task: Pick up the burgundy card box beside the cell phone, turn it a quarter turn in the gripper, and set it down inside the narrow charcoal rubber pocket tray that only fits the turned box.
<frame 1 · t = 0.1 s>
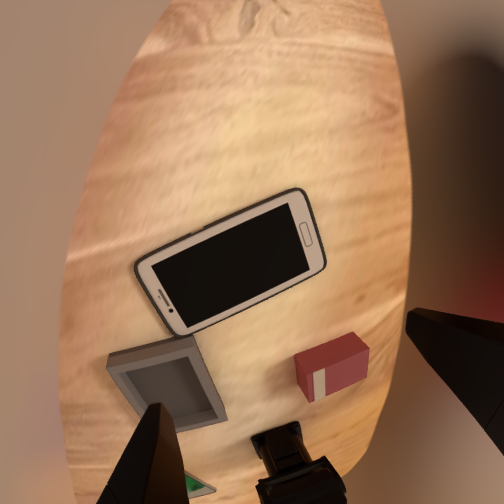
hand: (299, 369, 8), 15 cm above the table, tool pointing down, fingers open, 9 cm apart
card box: (324, 357, 29), on the table
pocket tray: (170, 384, 25), on the table
smartphone: (173, 478, 31), on the table
cell phone: (233, 262, 23), on the table
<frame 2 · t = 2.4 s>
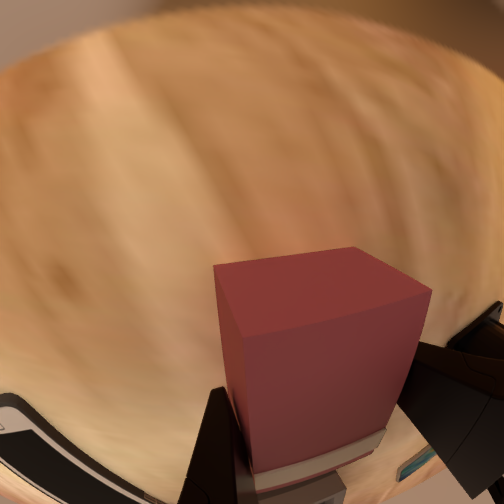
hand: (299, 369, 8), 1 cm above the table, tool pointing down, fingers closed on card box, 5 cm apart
card box: (288, 350, 9), on the table, touching gripper
smartphone: (444, 433, 22), on the table
cell phone: (74, 475, 10), on the table
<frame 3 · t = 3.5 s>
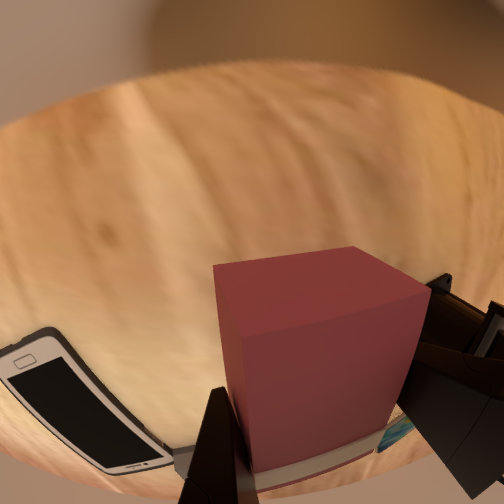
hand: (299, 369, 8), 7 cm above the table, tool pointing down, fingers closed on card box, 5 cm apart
card box: (288, 350, 9), point 6 cm above the table, touching gripper
pocket tray: (248, 456, 20), on the table
smartphone: (420, 406, 27), on the table
cell phone: (86, 414, 15), on the table
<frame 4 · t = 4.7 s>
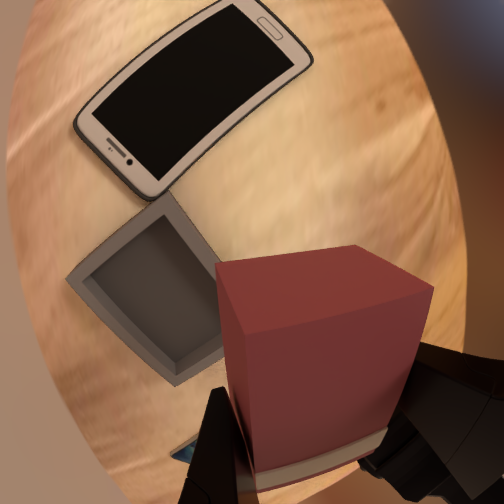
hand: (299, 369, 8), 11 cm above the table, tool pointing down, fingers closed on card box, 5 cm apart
card box: (289, 349, 9), point 10 cm above the table, touching gripper
pocket tray: (168, 292, 18), on the table
smartphone: (238, 454, 27), on the table
cell phone: (195, 83, 15), on the table
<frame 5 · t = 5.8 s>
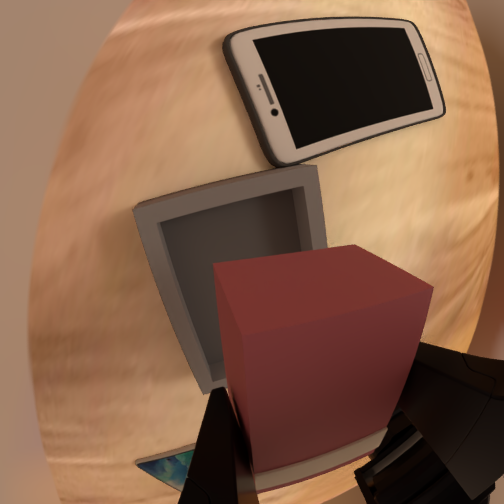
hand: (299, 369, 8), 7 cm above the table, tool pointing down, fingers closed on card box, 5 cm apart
card box: (288, 349, 9), point 6 cm above the table, touching gripper
pocket tray: (243, 279, 15), on the table
smartphone: (206, 476, 22), on the table
cell phone: (353, 76, 14), on the table
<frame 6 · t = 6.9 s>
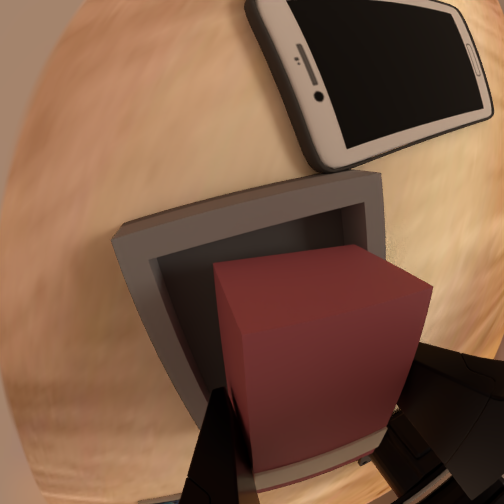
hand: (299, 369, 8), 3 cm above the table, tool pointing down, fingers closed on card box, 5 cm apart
card box: (288, 349, 9), point 2 cm above the table, touching gripper
pocket tray: (269, 322, 11), on the table
cell phone: (403, 61, 10), on the table
when the fingers open (3 cm above the table, at t = 6.9 s): card box drops 1 cm, resting on pocket tray.
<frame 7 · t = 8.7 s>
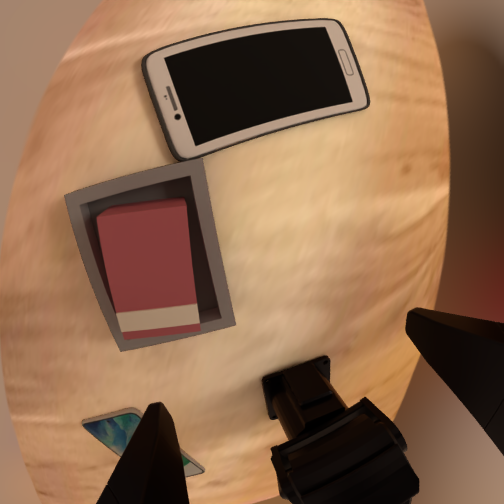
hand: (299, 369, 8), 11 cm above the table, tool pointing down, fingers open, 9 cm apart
card box: (153, 256, 17), point 1 cm above the table, touching pocket tray
pocket tray: (154, 254, 18), on the table
smartphone: (148, 447, 24), on the table
cell phone: (263, 78, 16), on the table
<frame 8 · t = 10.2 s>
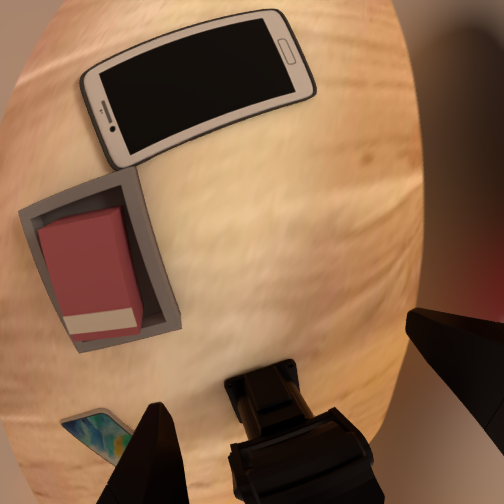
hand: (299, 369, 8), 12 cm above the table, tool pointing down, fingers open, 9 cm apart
card box: (100, 263, 17), point 1 cm above the table, touching pocket tray
pocket tray: (102, 261, 17), on the table
smartphone: (125, 447, 24), on the table
cell phone: (198, 79, 16), on the table
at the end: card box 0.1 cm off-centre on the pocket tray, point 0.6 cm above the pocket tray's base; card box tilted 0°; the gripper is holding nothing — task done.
